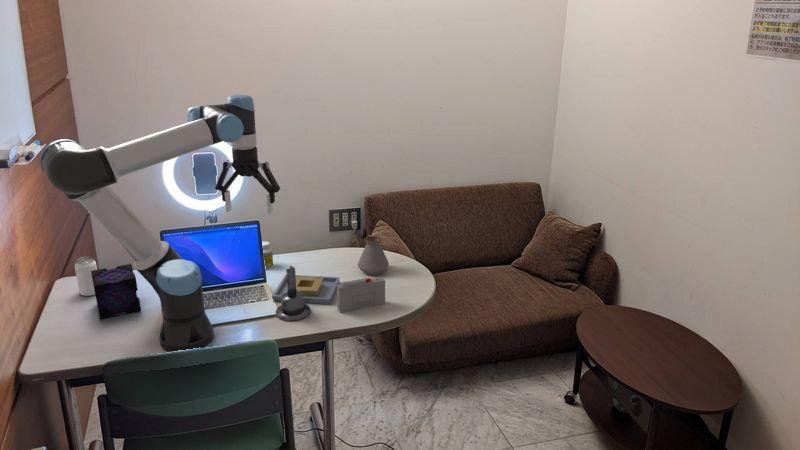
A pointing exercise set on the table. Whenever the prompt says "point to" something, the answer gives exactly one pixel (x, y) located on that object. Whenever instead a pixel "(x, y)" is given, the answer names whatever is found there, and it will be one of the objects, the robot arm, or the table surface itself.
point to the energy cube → (115, 291)
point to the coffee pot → (373, 255)
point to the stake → (292, 301)
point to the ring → (309, 286)
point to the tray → (323, 298)
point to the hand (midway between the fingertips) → (249, 211)
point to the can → (85, 275)
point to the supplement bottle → (267, 254)
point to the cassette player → (360, 294)
